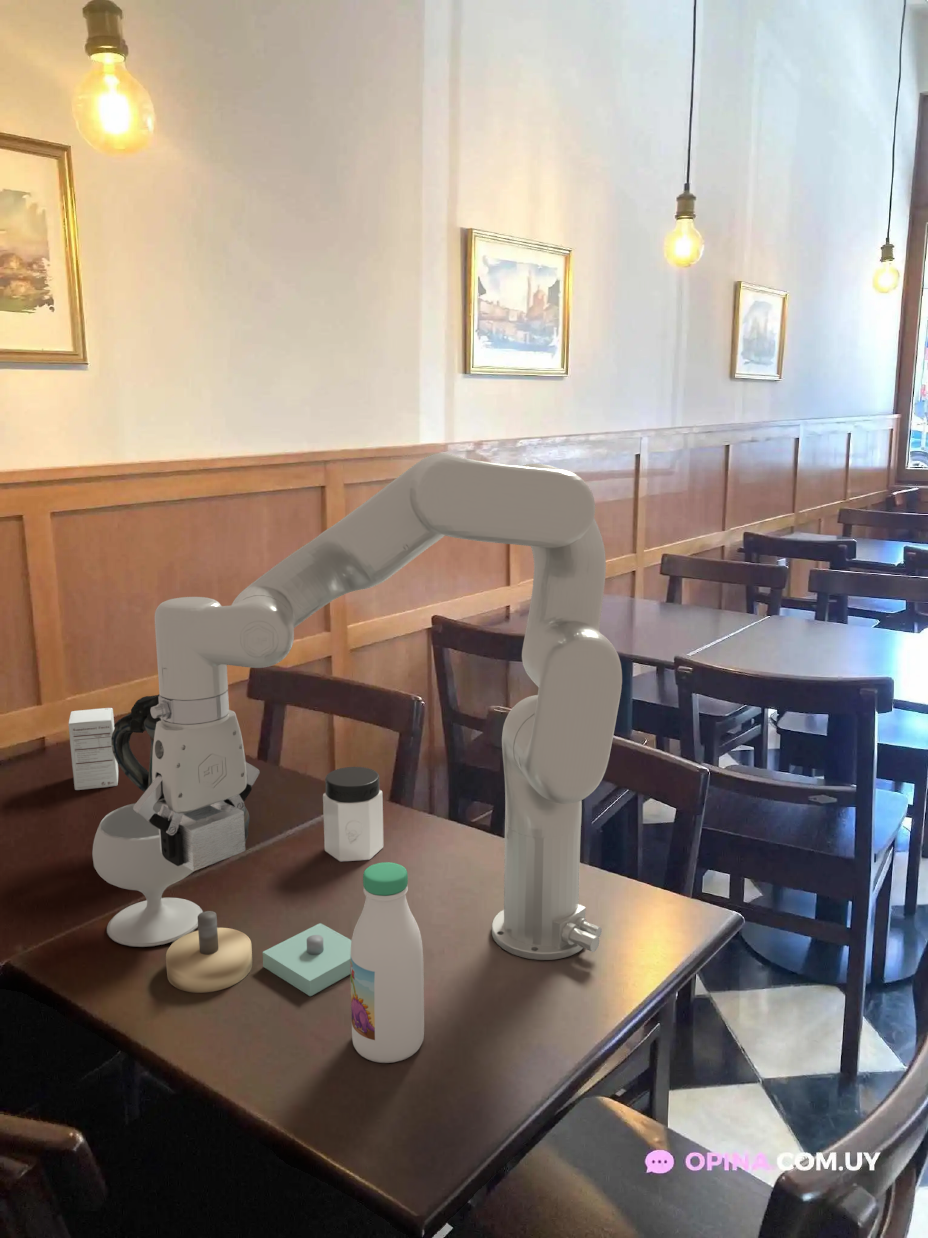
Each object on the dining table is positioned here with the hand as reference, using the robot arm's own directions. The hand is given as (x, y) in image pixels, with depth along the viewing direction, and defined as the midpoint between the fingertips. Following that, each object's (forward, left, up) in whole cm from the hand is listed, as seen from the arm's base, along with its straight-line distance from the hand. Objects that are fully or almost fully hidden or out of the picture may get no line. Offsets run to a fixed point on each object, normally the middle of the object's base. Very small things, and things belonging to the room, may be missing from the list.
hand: (202, 849), depth 114 cm
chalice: (+14, -1, -16) cm, 21 cm away
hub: (0, 0, -16) cm, 16 cm away
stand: (-9, -9, -16) cm, 20 cm away
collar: (0, 0, 0) cm, 0 cm away
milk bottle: (-26, -5, -16) cm, 31 cm away
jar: (+11, -33, -16) cm, 38 cm away
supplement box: (+66, -20, -16) cm, 71 cm away
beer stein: (+32, -17, -16) cm, 40 cm away
